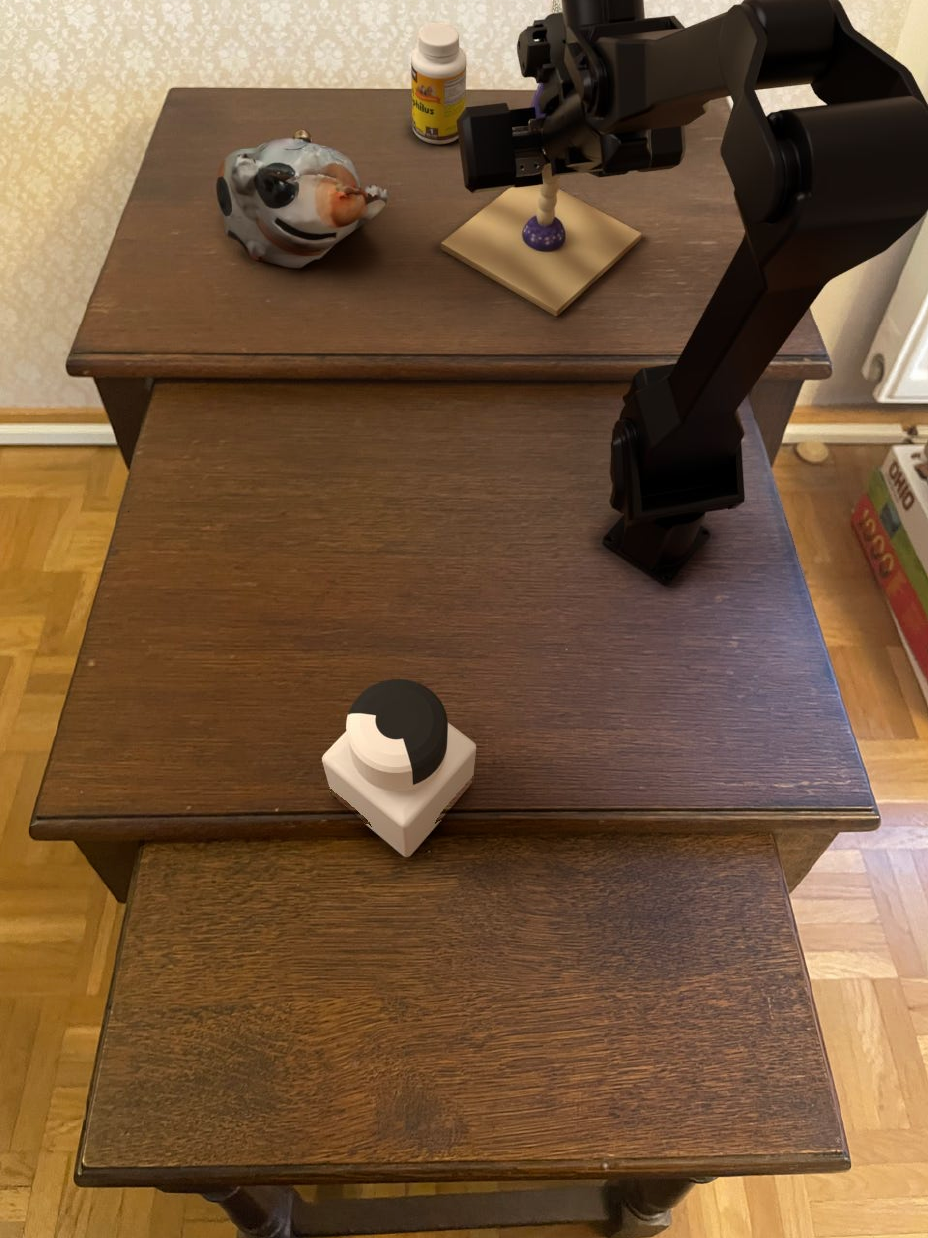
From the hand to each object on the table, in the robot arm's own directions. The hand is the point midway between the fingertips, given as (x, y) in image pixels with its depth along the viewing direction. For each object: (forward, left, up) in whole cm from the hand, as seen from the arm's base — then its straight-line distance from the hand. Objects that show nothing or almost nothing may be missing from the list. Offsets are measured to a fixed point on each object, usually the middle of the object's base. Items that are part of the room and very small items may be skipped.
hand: (546, 158), depth 89 cm
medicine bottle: (-52, -27, -9) cm, 59 cm away
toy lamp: (-1, -1, -8) cm, 8 cm away
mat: (-1, -1, -8) cm, 8 cm away
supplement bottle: (+6, +18, -9) cm, 21 cm away
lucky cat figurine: (-15, +17, -9) cm, 24 cm away
